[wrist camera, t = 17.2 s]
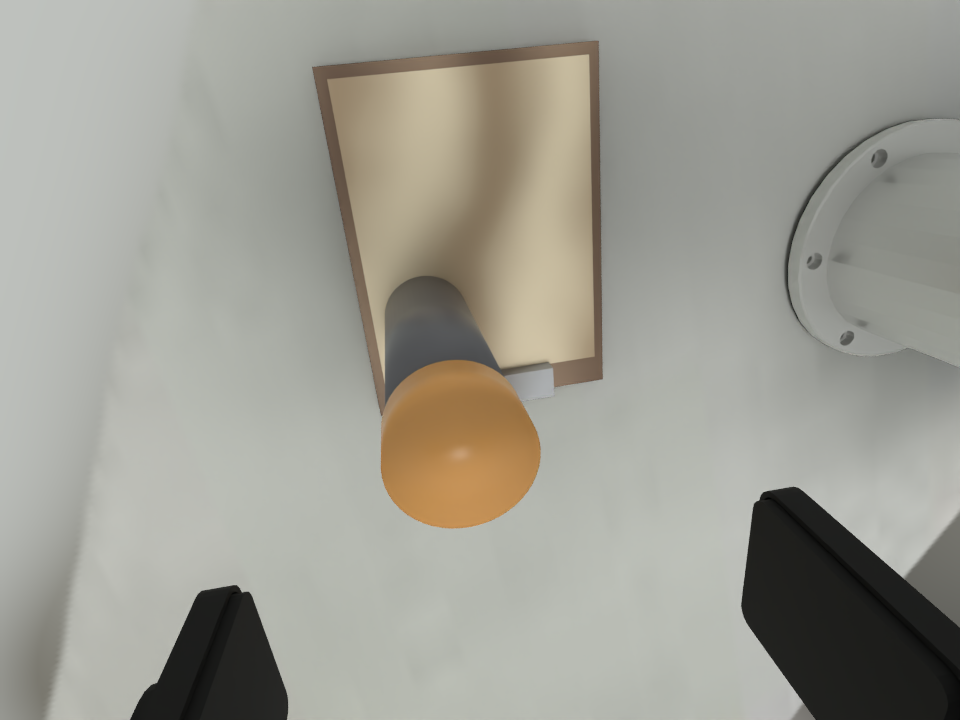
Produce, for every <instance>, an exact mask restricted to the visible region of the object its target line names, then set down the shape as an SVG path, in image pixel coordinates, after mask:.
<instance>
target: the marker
mask: <svg viewBox="0 0 960 720" xmlns="http://www.w3.org/2000/svg"><path fill="white" fill-rule="evenodd" d="M539 463H540V442H539V438H538V434H537V431H536V429H535V427H534V425H533V423H532V421H531V419H530V417H529V415H528V414H527V412H526V410H525V408H524V406H523V404H522V402H521V400H520V399H519V397H518V395H517V393H516V391H515V390H514V388H513V387H512V385H511V384H510V383H509V382H508V381H507V379H506V378H505V377H504V375H503V373H502V371H501V369H500V368H499V366H498V364H497V362H496V360H495V358H494V356H493V354H492V352H491V350H490V348H489V346H488V344H487V342H486V341H485V339H484V337H483V335H482V333H481V331H480V329H479V327H478V325H477V323H476V321H475V319H474V317H473V315H472V313H471V312H470V310H469V308H468V306H467V304H466V302H465V300H464V298H463V296H462V295H461V293H460V292H459V290H458V289H457V288H456V287H455V286H454V285H452V284H451V283H449V282H448V281H446V280H444V279H441V278H438V277H434V276H419V277H415V278H412V279H409V280H407V281H405V282H404V283H402V284H401V285H399V286H398V287H397V288H396V289H395V290H394V292H393V293H392V294H391V296H390V297H389V300H388V302H387V305H386V309H385V409H384V412H383V416H382V424H381V473H382V479H383V482H384V486H385V488H386V490H387V492H388V494H389V496H390V497H391V499H392V500H393V502H394V503H395V504H396V505H397V506H398V507H399V508H400V509H401V510H402V511H403V512H405V513H406V514H407V515H409V516H410V517H412V518H414V519H415V520H418V521H420V522H422V523H425V524H428V525H431V526H436V527H441V528H465V527H472V526H476V525H480V524H483V523H486V522H489V521H491V520H493V519H495V518H497V517H499V516H501V515H502V514H504V513H506V512H507V511H509V510H510V509H511V508H512V507H514V506H515V505H516V504H517V503H518V502H519V501H520V500H521V499H522V498H523V497H524V495H525V494H526V493H527V492H528V490H529V488H530V487H531V485H532V484H533V481H534V479H535V477H536V475H537V471H538V468H539Z"/></svg>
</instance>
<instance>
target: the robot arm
mask: <svg viewBox="0 0 960 720" xmlns="http://www.w3.org/2000/svg"><path fill="white" fill-rule="evenodd" d="M788 287H789V292H790V297H791V301H792V306H793V308H794V310H795V312H796V314H797V316H798V319H799V321H800V322H801V323H802V325H803V326H804V327H805V328H806V330H807V331H808V332H809V333H810V334H811V335H812V336H814V337H815V338H816V339H818V340H819V341H820V342H822V343H823V344H825V345H828V346H830V347H832V348H834V349H836V350H838V351H841V352H844V353H848V354H852V355H856V356H880V355H886V354H892V353H895V352H898V351H901V350H904V349H907V348H911V349H914V350H916V351H919V352H921V353H924V354H926V355H929V356H931V357H934V358H937V359H939V360H942V361H944V362H947V363H949V364H952V365H954V366H957V367H960V120H957V119H926V120H917V121H909V122H906V123H903V124H900V125H897V126H894V127H891V128H888V129H886V130H884V131H882V132H880V133H878V134H877V135H875V136H873V137H871V138H869V139H868V140H866V141H864V142H863V143H862V144H860V145H859V146H858V147H857V148H855V149H854V150H853V151H852V152H850V153H849V154H848V155H846V156H845V157H844V158H843V159H842V160H841V161H840V162H839V163H838V164H837V166H836V167H835V168H834V169H833V170H832V171H831V172H830V173H829V174H828V175H827V176H826V178H825V179H824V180H823V182H822V183H821V185H820V186H819V187H818V189H817V190H816V192H815V193H814V195H813V196H812V197H811V199H810V201H809V203H808V205H807V207H806V209H805V211H804V213H803V215H802V217H801V219H800V221H799V224H798V227H797V230H796V233H795V236H794V239H793V242H792V246H791V252H790V258H789V264H788ZM741 607H742V612H743V616H744V618H745V620H746V622H747V624H748V626H749V627H750V629H751V630H752V631H753V633H754V634H755V636H756V637H757V638H758V640H759V641H760V643H761V644H762V645H763V647H764V648H765V650H766V651H767V652H768V654H769V655H770V657H771V658H772V659H773V661H774V662H775V664H776V665H777V666H778V668H779V669H780V671H781V672H782V673H783V675H784V676H785V678H786V679H787V680H788V682H789V683H790V685H791V686H792V687H793V689H794V690H795V691H796V693H797V694H798V696H799V697H800V698H801V700H802V701H803V703H804V704H805V705H806V707H807V708H808V710H809V711H810V712H811V714H812V715H813V717H814V718H815V719H816V720H960V628H959V627H958V626H957V625H956V624H955V623H954V622H953V621H951V620H950V619H949V618H948V617H947V616H946V615H945V614H943V613H942V612H941V611H940V610H939V609H938V608H937V607H935V606H934V605H933V604H932V603H931V602H930V601H928V600H927V599H926V598H925V597H924V596H923V595H922V594H920V593H919V592H918V591H917V590H916V589H915V588H914V587H912V586H911V585H910V584H909V583H908V582H907V581H906V580H904V579H903V578H902V577H901V576H900V575H899V574H897V573H896V572H895V571H894V570H893V569H892V568H891V567H889V566H888V565H887V564H886V563H885V562H884V561H883V560H881V559H880V558H879V557H878V556H877V555H876V554H875V553H873V552H872V551H871V550H870V549H869V548H868V547H866V546H865V545H864V544H863V543H862V542H861V541H860V540H858V539H857V538H856V537H855V536H854V535H853V534H852V533H850V532H849V531H848V530H847V529H846V528H845V527H844V526H842V525H841V524H840V523H839V522H838V521H837V520H835V519H834V518H833V517H832V516H831V515H830V514H829V513H827V512H826V511H825V510H824V509H823V508H822V507H821V506H819V505H818V504H817V503H816V502H815V501H814V500H813V499H811V498H810V497H809V496H808V495H807V494H806V493H804V492H803V491H802V490H800V489H799V488H796V487H789V488H783V489H778V490H772V491H767V492H763V494H762V495H761V497H760V500H759V501H757V502H755V504H754V507H753V513H752V522H751V530H750V538H749V546H748V554H747V562H746V570H745V578H744V586H743V595H742V603H741ZM287 715H288V697H287V692H286V689H285V687H284V684H283V681H282V678H281V676H280V673H279V670H278V667H277V664H276V662H275V659H274V656H273V653H272V651H271V648H270V645H269V642H268V639H267V637H266V634H265V631H264V628H263V626H262V623H261V620H260V617H259V614H258V612H257V609H256V606H255V603H254V601H253V598H252V596H251V594H250V593H249V592H243V593H242V592H241V590H240V588H239V587H238V586H237V585H233V586H227V587H221V588H216V589H210V590H204V591H201V592H200V593H199V594H198V595H197V597H196V599H195V601H194V603H193V605H192V607H191V610H190V612H189V614H188V616H187V618H186V621H185V623H184V625H183V627H182V629H181V632H180V634H179V636H178V638H177V641H176V643H175V645H174V647H173V649H172V652H171V654H170V656H169V658H168V660H167V663H166V665H165V667H164V669H163V671H162V674H161V676H160V678H159V680H158V683H156V684H153V685H151V686H150V687H149V688H148V689H147V690H146V691H145V692H144V694H143V695H142V697H141V699H140V700H139V702H138V704H137V706H136V708H135V710H134V713H133V715H132V717H131V719H130V720H287Z"/></svg>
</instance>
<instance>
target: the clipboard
mask: <svg viewBox="0 0 960 720" xmlns="http://www.w3.org/2000/svg"><path fill="white" fill-rule="evenodd" d="M312 68H313V73H314V78H315V83H316V88H317V93H318V99H319V104H320V109H321V114H322V119H323V124H324V129H325V134H326V139H327V144H328V149H329V154H330V159H331V164H332V169H333V174H334V180H335V185H336V190H337V195H338V200H339V205H340V210H341V215H342V220H343V225H344V230H345V235H346V240H347V245H348V250H349V255H350V261H351V266H352V271H353V276H354V281H355V286H356V291H357V296H358V301H359V306H360V311H361V316H362V321H363V326H364V331H365V337H366V342H367V347H368V352H369V357H370V362H371V367H372V372H373V377H374V382H375V387H376V392H377V397H378V402H379V407H380V412H381V416H382V415H383V412H384V409H385V309H386V305H387V302H388V300H389V297H390V296H391V294H392V293H393V292H394V290H395V289H396V288H397V287H398V286H399V285H401V284H402V283H404V282H405V281H407V280H409V279H412V278H415V277H419V276H434V277H438V278H441V279H444V280H446V281H448V282H449V283H451V284H452V285H454V286H455V287H456V288H457V289H458V290H459V292H460V293H461V295H462V296H463V298H464V300H465V302H466V304H467V306H468V308H469V310H470V312H471V313H472V315H473V317H474V319H475V321H476V323H477V325H478V327H479V329H480V331H481V333H482V335H483V337H484V339H485V341H486V342H487V344H488V346H489V348H490V350H491V352H492V354H493V356H494V358H495V360H496V362H497V364H498V366H499V368H500V369H501V371H502V373H503V375H504V377H505V378H506V379H507V381H508V382H509V383H510V384H511V385H512V387H513V388H514V390H515V391H516V393H517V395H518V397H519V399H520V400H521V402H522V401H528V400H534V399H540V398H546V397H552V396H554V387H558V386H564V385H570V384H576V383H582V382H588V381H594V380H600V379H603V375H602V291H601V207H600V123H599V41H589V42H578V43H568V44H557V45H546V46H535V47H524V48H514V49H503V50H492V51H481V52H470V53H460V54H449V55H438V56H427V57H417V58H406V59H395V60H384V61H373V62H363V63H352V64H341V65H330V66H319V67H312Z"/></svg>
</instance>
